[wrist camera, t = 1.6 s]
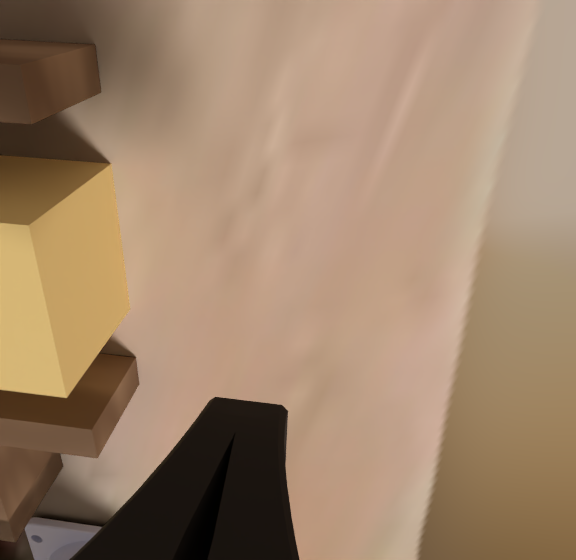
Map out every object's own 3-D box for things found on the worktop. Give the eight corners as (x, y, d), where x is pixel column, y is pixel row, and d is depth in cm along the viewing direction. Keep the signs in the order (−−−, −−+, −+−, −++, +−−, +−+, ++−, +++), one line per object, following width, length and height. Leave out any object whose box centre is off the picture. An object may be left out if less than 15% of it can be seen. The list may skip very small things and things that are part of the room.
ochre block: (131, 307, 18) (66, 397, 15) (-8, 292, 19) (-107, 376, 15) (112, 162, 16) (28, 225, 12) (-48, 150, 16) (-178, 206, 13)
